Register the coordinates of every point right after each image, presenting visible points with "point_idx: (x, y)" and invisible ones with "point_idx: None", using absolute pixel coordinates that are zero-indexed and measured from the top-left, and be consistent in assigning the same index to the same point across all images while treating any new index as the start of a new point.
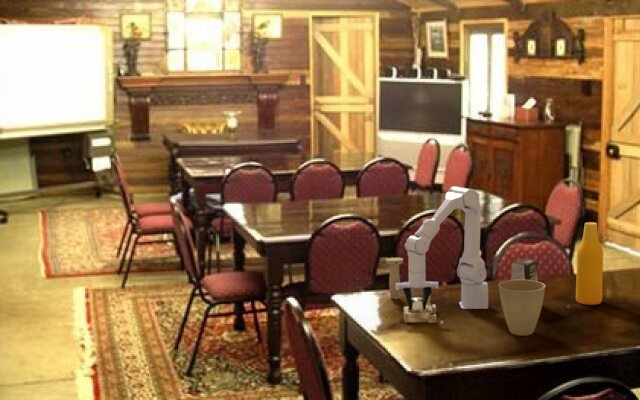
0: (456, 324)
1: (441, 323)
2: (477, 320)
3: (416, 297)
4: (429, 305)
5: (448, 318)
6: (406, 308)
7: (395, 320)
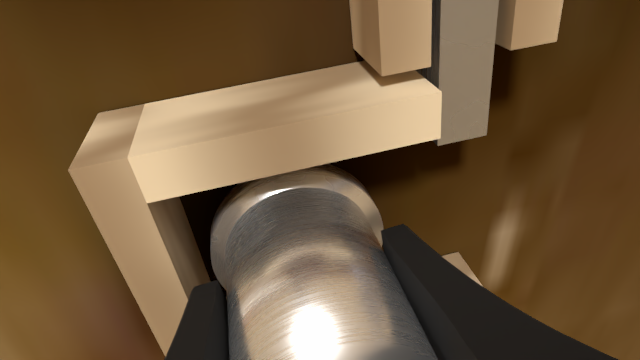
0: (590, 275)
1: (491, 281)
2: None
3: (328, 357)
4: None
5: (582, 150)
6: (149, 247)
7: (77, 305)
